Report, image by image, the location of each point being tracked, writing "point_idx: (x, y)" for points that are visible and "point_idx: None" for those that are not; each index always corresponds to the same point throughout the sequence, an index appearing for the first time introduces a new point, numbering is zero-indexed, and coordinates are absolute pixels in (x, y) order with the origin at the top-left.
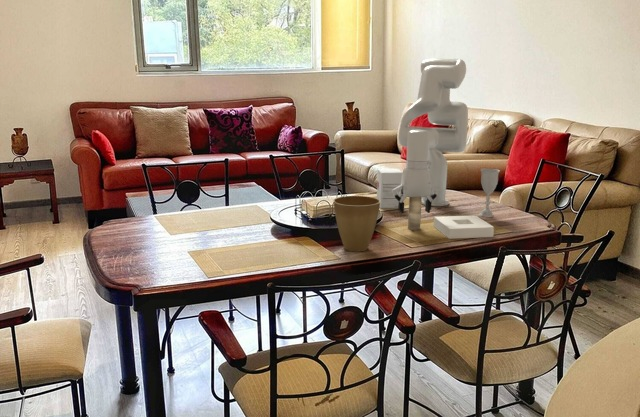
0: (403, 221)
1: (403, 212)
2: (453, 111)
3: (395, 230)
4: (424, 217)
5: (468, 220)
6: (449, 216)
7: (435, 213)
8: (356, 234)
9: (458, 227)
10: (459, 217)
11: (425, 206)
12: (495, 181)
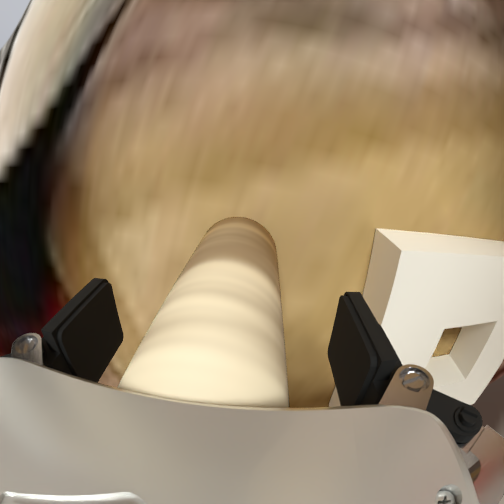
0: (222, 82)
1: (119, 342)
2: None
3: (126, 272)
4: (394, 34)
5: (492, 326)
6: (477, 260)
7: (459, 8)
8: None
9: None
10: (497, 286)
11: (351, 319)
12: None
